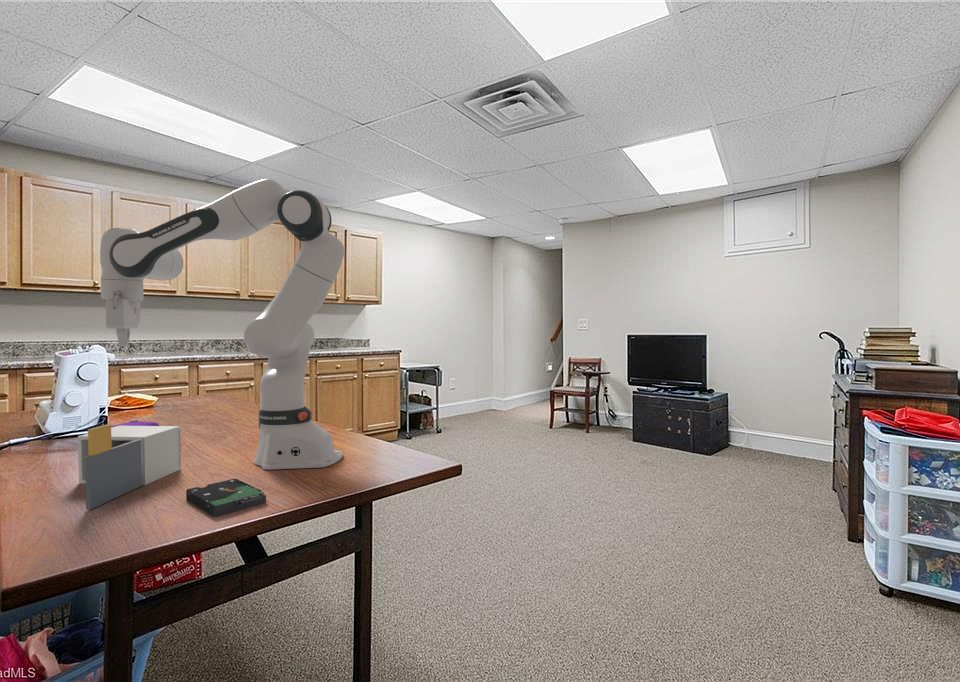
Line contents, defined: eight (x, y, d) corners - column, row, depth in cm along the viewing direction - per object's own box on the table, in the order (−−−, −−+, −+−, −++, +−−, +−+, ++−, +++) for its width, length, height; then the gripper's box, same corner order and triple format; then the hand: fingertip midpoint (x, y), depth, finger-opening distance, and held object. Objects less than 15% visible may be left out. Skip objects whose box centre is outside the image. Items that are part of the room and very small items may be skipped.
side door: (140, 484, 111) (138, 415, 110) (144, 484, 111) (143, 415, 110) (85, 509, 96) (83, 430, 95) (90, 509, 96) (88, 430, 95)
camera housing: (183, 468, 124) (182, 425, 124) (145, 484, 111) (144, 437, 111) (123, 467, 125) (122, 424, 125) (79, 483, 112) (77, 436, 112)
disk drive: (184, 502, 102) (214, 520, 92) (184, 489, 102) (214, 505, 92) (235, 490, 110) (267, 504, 100) (235, 477, 110) (267, 491, 100)
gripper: (129, 290, 117) (130, 347, 117) (144, 295, 135) (145, 344, 135) (96, 289, 114) (98, 348, 114) (116, 294, 132) (117, 345, 133)
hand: (123, 346), depth 125 cm, fingers closed
